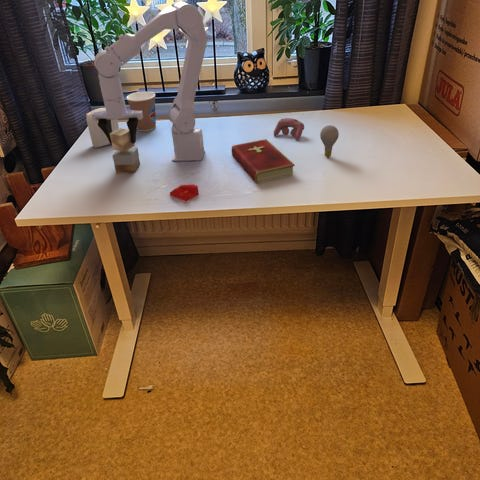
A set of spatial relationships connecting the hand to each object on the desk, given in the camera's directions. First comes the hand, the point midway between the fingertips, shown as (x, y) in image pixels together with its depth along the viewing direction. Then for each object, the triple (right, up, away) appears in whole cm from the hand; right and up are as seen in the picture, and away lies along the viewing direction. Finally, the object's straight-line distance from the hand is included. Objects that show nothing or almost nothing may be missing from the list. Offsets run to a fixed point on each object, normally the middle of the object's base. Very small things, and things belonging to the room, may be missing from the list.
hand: (123, 142), depth 133 cm
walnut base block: (0, -7, +5) cm, 9 cm away
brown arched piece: (+52, +6, +20) cm, 56 cm away
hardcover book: (+42, -7, +2) cm, 42 cm away
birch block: (0, -1, +1) cm, 2 cm away
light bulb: (+63, -4, +4) cm, 63 cm away
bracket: (+20, -17, -11) cm, 28 cm away
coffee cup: (0, +13, +33) cm, 35 cm away
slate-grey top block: (0, -5, +3) cm, 6 cm away
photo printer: (-11, +4, +22) cm, 25 cm away
